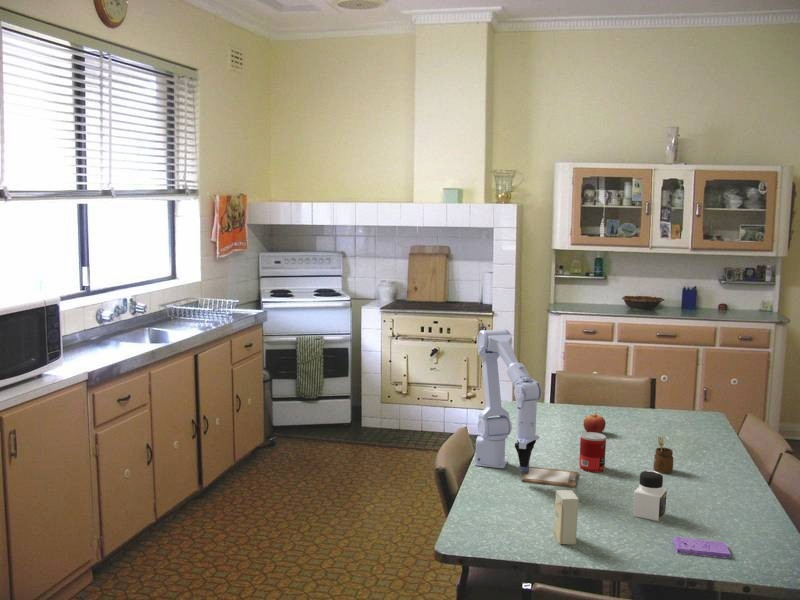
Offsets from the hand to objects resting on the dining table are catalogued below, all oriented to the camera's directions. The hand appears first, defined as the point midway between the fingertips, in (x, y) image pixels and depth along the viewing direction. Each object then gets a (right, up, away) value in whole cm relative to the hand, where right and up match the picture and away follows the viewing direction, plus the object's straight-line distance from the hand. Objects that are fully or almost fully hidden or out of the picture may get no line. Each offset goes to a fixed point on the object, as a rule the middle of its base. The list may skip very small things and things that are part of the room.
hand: (524, 464), depth 239 cm
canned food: (+24, -5, +16) cm, 30 cm away
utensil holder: (+47, -5, +15) cm, 50 cm away
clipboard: (+9, -6, +7) cm, 13 cm away
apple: (+35, 0, +55) cm, 65 cm away
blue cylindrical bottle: (0, -2, 0) cm, 2 cm away
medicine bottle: (+31, -10, -21) cm, 39 cm away
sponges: (+37, -13, -42) cm, 58 cm away
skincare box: (+4, -11, -38) cm, 40 cm away
